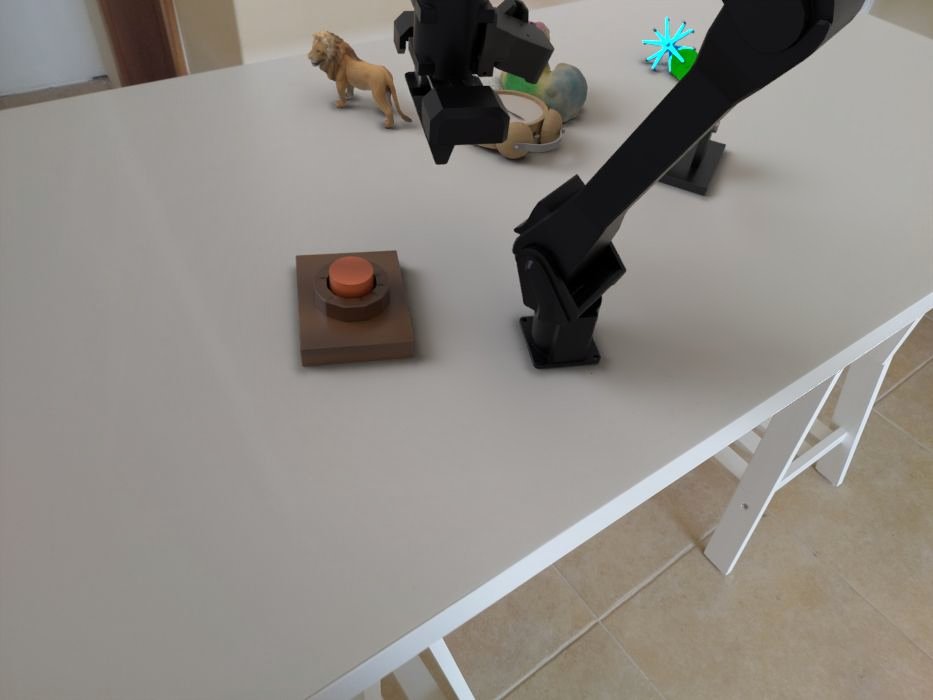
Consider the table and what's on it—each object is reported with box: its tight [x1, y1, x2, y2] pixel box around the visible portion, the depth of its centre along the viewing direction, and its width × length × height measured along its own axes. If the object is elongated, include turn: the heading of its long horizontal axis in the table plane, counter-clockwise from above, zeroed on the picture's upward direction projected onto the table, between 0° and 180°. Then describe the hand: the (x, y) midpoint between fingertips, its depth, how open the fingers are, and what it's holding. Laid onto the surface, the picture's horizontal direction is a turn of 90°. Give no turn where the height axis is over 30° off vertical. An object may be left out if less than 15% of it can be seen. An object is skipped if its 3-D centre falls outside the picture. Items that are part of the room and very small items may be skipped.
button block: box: [295, 249, 415, 367], centre depth 69 cm, size 13×10×4 cm
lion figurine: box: [306, 30, 413, 128], centre depth 94 cm, size 15×5×9 cm, turn 66°
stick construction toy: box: [641, 16, 698, 81], centre depth 113 cm, size 12×7×8 cm
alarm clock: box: [476, 88, 566, 160], centre depth 94 cm, size 11×5×15 cm
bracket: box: [657, 121, 727, 197], centre depth 92 cm, size 12×9×8 cm
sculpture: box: [499, 20, 588, 124], centre depth 100 cm, size 15×8×10 cm, turn 46°
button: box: [329, 256, 374, 299], centre depth 67 cm, size 4×4×2 cm
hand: (440, 162), depth 67 cm, fingers closed
